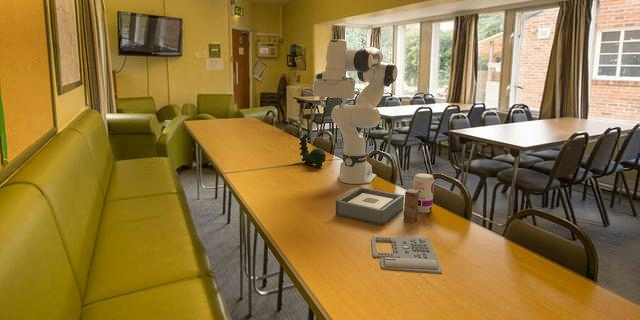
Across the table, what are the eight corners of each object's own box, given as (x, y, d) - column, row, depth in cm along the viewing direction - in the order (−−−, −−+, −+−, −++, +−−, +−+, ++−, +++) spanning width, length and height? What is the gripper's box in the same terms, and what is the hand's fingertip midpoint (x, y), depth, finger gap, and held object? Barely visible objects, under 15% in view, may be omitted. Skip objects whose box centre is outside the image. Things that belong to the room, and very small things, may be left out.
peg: (407, 218, 160) (408, 189, 157) (416, 220, 158) (418, 190, 155) (403, 221, 157) (405, 191, 154) (413, 223, 155) (415, 193, 152)
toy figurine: (296, 165, 248) (318, 170, 227) (294, 134, 245) (317, 136, 224) (309, 163, 253) (332, 168, 233) (308, 132, 250) (331, 135, 230)
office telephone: (443, 267, 118) (373, 263, 119) (442, 275, 118) (373, 271, 120) (429, 234, 140) (371, 231, 142) (429, 241, 141) (371, 238, 143)
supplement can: (432, 208, 172) (435, 173, 168) (431, 214, 164) (433, 179, 161) (413, 205, 174) (415, 172, 171) (410, 212, 167) (413, 177, 163)
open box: (360, 200, 181) (360, 187, 179) (403, 208, 170) (404, 195, 169) (335, 215, 162) (336, 201, 161) (381, 226, 152) (382, 210, 151)
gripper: (359, 78, 176) (356, 110, 178) (319, 76, 187) (317, 106, 189) (352, 76, 170) (349, 109, 173) (311, 75, 181) (309, 106, 183)
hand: (332, 108), depth 181 cm, fingers open, 8 cm apart
